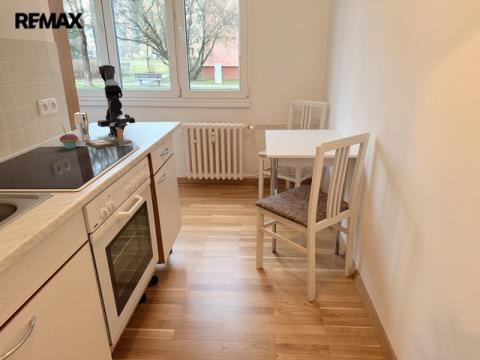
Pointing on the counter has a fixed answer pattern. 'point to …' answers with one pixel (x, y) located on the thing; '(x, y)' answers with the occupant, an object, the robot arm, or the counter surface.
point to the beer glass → (82, 125)
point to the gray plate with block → (120, 138)
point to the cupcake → (69, 140)
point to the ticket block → (102, 143)
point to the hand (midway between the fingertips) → (118, 137)
